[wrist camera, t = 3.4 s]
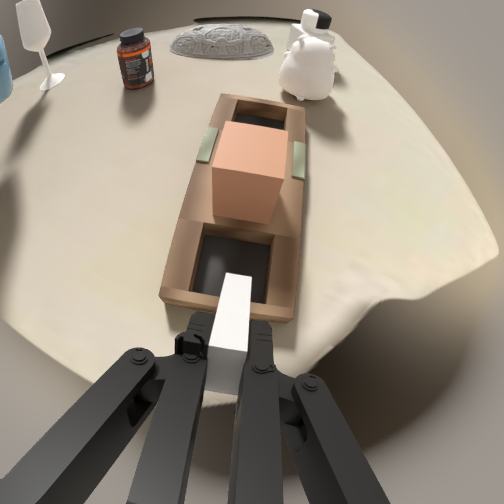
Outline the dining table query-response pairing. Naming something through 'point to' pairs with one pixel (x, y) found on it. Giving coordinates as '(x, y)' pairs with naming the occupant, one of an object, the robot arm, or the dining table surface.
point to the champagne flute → (36, 36)
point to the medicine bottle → (311, 27)
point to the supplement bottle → (135, 59)
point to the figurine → (308, 69)
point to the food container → (232, 46)
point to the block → (248, 171)
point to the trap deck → (240, 223)
